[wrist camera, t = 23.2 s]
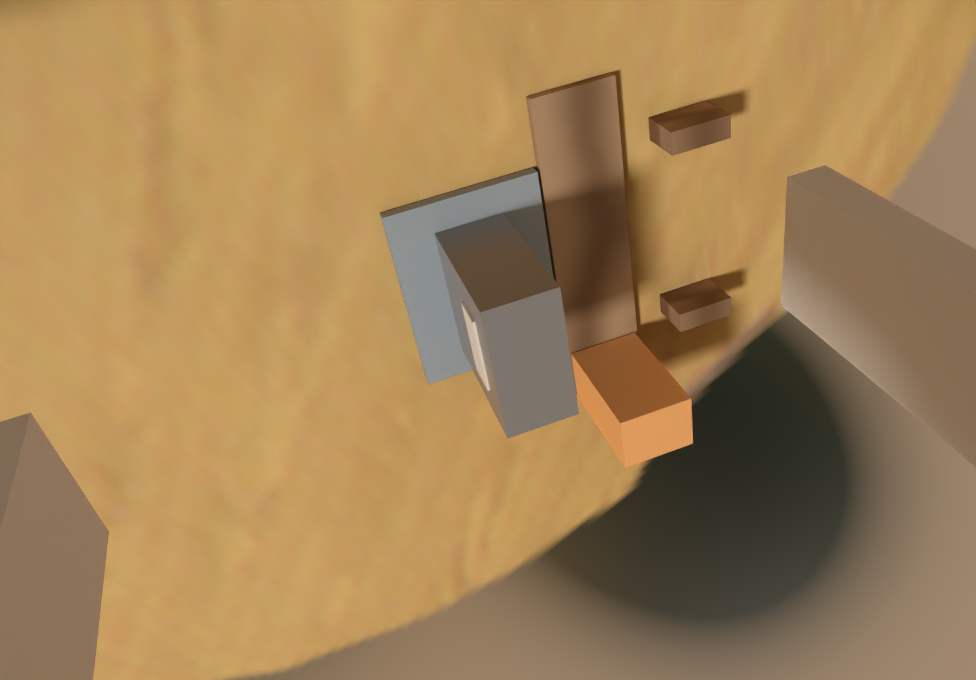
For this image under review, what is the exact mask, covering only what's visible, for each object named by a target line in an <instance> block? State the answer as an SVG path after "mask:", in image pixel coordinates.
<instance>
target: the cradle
mask: <svg viewBox="0 0 976 680" xmlns="http://www.w3.org/2000/svg"><path fill="white" fill-rule="evenodd" d="M526 98H527V105H528V111H529V118H530V124H531V131H532V138H533V144H534V151H535V158H536V164H537V171H538V177H539V184H540V191H541V197H542V204H543V211H544V217H545V224H546V230H547V237H548V244H549V250H550V257H551V264H552V270H553V277H554V280H555V281H556V282H557V283H558V285H559V286H560V289H561V295H562V302H563V309H564V316H565V323H566V330H567V337H568V344H569V350H570V357H571V364H572V371H573V378H574V385H575V392H576V395H577V390H576V383H575V376H574V369H573V362H572V355H571V354H572V353H575V352H578V351H581V350H584V349H587V348H590V347H593V346H596V345H599V344H602V343H605V342H608V341H611V340H614V339H617V338H620V337H623V336H626V335H629V334H631V333H634V332H635V333H636V335H637V323H636V311H635V300H634V288H633V276H632V264H631V253H630V241H629V229H628V217H627V206H626V194H625V182H624V170H623V158H622V147H621V135H620V123H619V111H618V100H617V88H616V76H615V74H613V73H607V74H604V75H600V76H597V77H593V78H590V79H586V80H583V81H579V82H576V83H572V84H569V85H565V86H562V87H558V88H555V89H551V90H548V91H544V92H541V93H537V94H534V95H530V96H527V97H526ZM649 130H650V140H651V141H652V142H654V143H655V144H657V145H658V146H659V147H661V148H662V149H664V150H665V151H666V152H668V153H669V154H671V155H672V156H673V155H676V154H679V153H682V152H686V151H689V150H692V149H696V148H699V147H702V146H706V145H709V144H712V143H715V142H719V141H722V140H725V139H729V138H731V115H730V114H728V113H727V112H725V111H723V110H721V109H719V108H718V107H716V106H714V105H712V104H710V103H709V102H707V101H703V102H700V103H697V104H693V105H690V106H687V107H683V108H680V109H676V110H673V111H670V112H666V113H663V114H659V115H656V116H653V117H649ZM660 305H661V312H662V313H663V314H664V315H665V316H666V317H667V318H668V320H669V321H670V322H671V323H672V324H673V325H674V326H675V327H676V328H677V329H678V330H679V331H680V332H683V331H686V330H689V329H692V328H695V327H698V326H701V325H703V324H706V323H709V322H712V321H715V320H718V319H721V318H724V317H727V316H730V315H731V297H730V296H729V295H727V294H726V293H725V292H724V291H723V290H722V289H721V288H720V287H719V286H717V285H716V284H715V283H714V282H713V281H712V280H711V279H710V278H709V279H706V280H703V281H700V282H697V283H694V284H691V285H688V286H685V287H682V288H679V289H676V290H673V291H670V292H666V293H663V294H660ZM637 336H638V335H637Z"/></svg>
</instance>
